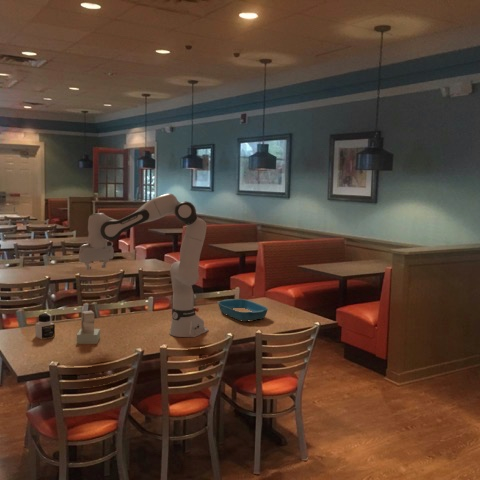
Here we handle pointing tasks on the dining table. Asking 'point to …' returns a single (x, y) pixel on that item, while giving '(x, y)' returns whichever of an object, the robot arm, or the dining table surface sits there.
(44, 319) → the medicine bottle
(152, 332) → the dining table surface
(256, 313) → the casserole dish
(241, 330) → the dining table surface
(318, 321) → the dining table surface
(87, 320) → the ash block
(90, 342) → the riser block
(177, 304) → the robot arm
